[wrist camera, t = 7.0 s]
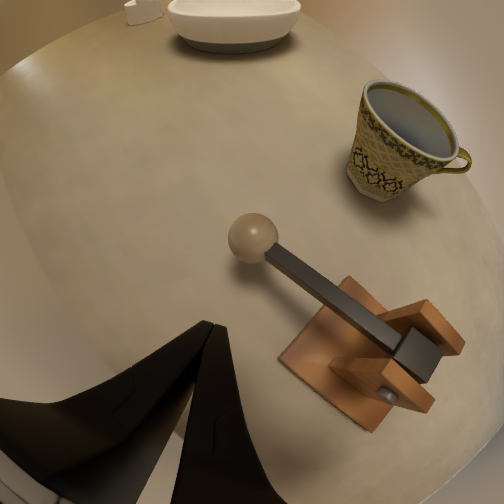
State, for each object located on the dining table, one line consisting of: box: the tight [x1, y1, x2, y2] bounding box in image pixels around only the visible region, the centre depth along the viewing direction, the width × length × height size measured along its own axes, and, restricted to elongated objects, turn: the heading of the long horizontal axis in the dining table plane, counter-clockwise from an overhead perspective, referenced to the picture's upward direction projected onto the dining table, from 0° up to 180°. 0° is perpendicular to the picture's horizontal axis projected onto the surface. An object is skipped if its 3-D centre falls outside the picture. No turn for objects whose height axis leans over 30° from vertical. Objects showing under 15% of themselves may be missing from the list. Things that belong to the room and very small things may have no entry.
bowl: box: [167, 0, 301, 54], centre depth 33 cm, size 22×22×8 cm
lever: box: [228, 213, 444, 384], centre depth 16 cm, size 16×3×3 cm, turn 47°
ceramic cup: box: [347, 80, 472, 202], centre depth 22 cm, size 13×10×10 cm
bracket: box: [278, 276, 465, 433], centre depth 16 cm, size 11×9×10 cm
